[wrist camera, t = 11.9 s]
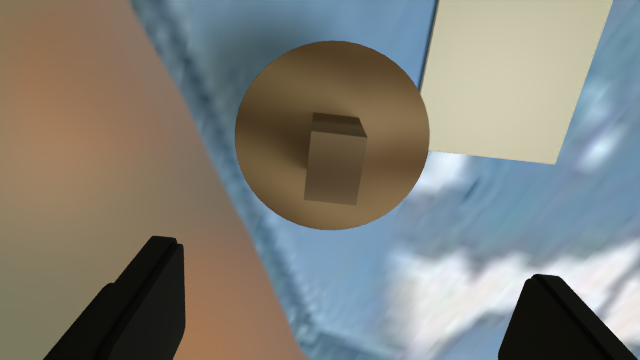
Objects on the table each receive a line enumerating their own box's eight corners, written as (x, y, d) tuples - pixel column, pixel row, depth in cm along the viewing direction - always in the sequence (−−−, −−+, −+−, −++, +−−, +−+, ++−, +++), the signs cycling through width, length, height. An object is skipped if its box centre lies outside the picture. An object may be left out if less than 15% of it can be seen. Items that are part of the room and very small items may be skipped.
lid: (241, 28, 24) (217, 28, 18) (445, 54, 24) (482, 61, 19) (234, 213, 29) (213, 258, 23) (405, 232, 29) (425, 280, 24)
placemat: (455, -86, 32) (457, -88, 31) (630, -62, 32) (635, -64, 32) (408, 146, 39) (409, 148, 38) (551, 162, 39) (555, 164, 39)
